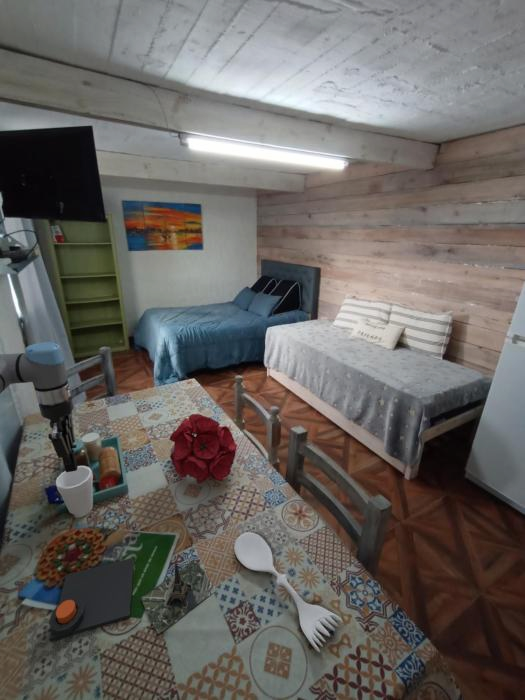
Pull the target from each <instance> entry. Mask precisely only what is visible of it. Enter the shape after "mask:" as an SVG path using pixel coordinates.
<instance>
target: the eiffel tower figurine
mask: <svg viewBox="0 0 525 700" xmlns="http://www.w3.org/2000/svg"><path fill="white" fill-rule="evenodd" d="M174 559H175V560H174V574H173V575H170V577H168V578H167V579H165V580H164V581H162V582H161V583H159V584H158V585H157V586H155V587H154V588H152V589H151V590H150V591H149V592H146V594H144V595H143V596H142V597H140V600H141V602H142V605H143V607H144V609H145V611H146V613H147V615H148V618H149V619H150V621H151V623H152V625H153V627H154V629H155V631H156V633H157V635H160V634H161V633H163V632H164V631H166V630H167V629H169V627H171V626H172V625H174V624H175V623H176V622H178V621H179V620H180V619H181V618H182V617H183V616H184V615H186V614H187V613H189V612H190V611H191V610H192V609H193V608H194V607H196V606H197V605H199V604H200V603H202V602H203V601H204V600H205V599H207V598H209V596H212V594H214V593H215V592H217V588H216V587H215V585H214V584H213V583H212V581H211V580H210V579H209V577H208V576H207V575H206V573H205V572H204V570H203V569H202V567H201V565H199V563H198V562H197V560H196V559H194V560H192V561H191V562H189V563H188V564H186V565H185V566H184V567H182V568H181V569H180V570H179V566H178V560H177V558H174Z"/></svg>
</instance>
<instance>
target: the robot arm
mask: <svg viewBox="0 0 525 700" xmlns="http://www.w3.org/2000/svg"><path fill="white" fill-rule="evenodd" d="M26 383H27V384H28V383H32V384H33V388H34V392H35V397H36V400H37V403H38V407H39V411H40V415H41V417H43V418H44V419H47V420H49V427H50V428H51V431H52V432H51V433H48V436H47V437H48V440H49V441H50V442H51V444H52V446H53V448H54V451H55V453H56V456H57V458H58V459H61V458H62V462H63V465H64V471H66V472H72V471H76V470H77V468H78V467H77V466H78V463H77V458H76V454H75V449H77V447H78V445H77V444H75V442H76V439H75V431H74V422H73V410H74V402H73V397H72V396H71V395H72V394H71V390H73V389H72V386H70V384H69V378H68V375H67V369H66V364H65V358H64V356H63V352H62V349H61V346H60V345H59V343H56V342H52V341H41V342H36V343H33V344H30V345H28V346H26V347H25V349H24V352H23V353H22V352H21V353H18V352H17V353H1V354H0V394H1V393H2V392H4V391H5V390H6V389H8V387H10V385H12V384H13V385H14V384H26Z"/></svg>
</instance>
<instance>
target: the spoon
mask: <svg viewBox="0 0 525 700" xmlns="http://www.w3.org/2000/svg"><path fill="white" fill-rule="evenodd" d="M233 547H234V553H235V556H236V558H237V560H238V561H239V562H240V563H241V564H242V565H243V566H244V567H245V568H247V569H249V570H252V571H256V572H265V573H271V574H272V575H273V576H275V577H276V581H275V582H276V585H278V586H282V587H284V589H286V591H287V592H288V593H289V594H290V595H291V597H292V599H293V601H294V603H295V606H296V608H297V611H298V618H299V624H300V625H299V626H300V627H301V628H300V629H301V630H302V632H303V634H304V636H305V637H306V639H307V640H308V642H309V643H310V645H311V646H312V647H313V649H314V650H315V651H317V653H321V650H320V648H319V647H318V645H319V646H320V647H322V648H324V646H323V644H322V642H324V643H327V641H326V639H325V638H324V637H323V636H322V634H323V635H325V636H326V637H331V634H330V633H329V631H328V630H327V629H326V628H328V629H330V630H331V631H333V632H336V630H335V628H334V627H333V626H335V627H337V628H339V625H338V623H337V622H339V623H341V624H344V620H343V619H342V618H341V617H340V615H338V614H335V613H333V612H332V611H330V610H328V609H327V608H325V607H323V606H320V605H317V604H311V603H309V602H306V601H304V600H303V599H302V598H301V596H300V595H299V594H298V593H297V591H296V590H295V589H294V588H293V587H292V585H291V584H290V583H289V582H288V576H287V575H286V574H285V573H283V574H281V573H279V572H278V571H277V570H276V568H275V566H274V559H273V553H272V550H271V547H270V545H269V544H268V543H267V542H266V540H265V538H263V537H262V536H261V535H259V534H257V533H255V532H252V531H246V532H244V533H241V534H240V535H239V536H238V537H237V538H236V539H235V542H234V545H233ZM336 621H337V622H336ZM331 624H332V625H331ZM324 626H325V627H324ZM320 633H321V634H320ZM320 640H321V641H322V642H321V641H320Z"/></svg>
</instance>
